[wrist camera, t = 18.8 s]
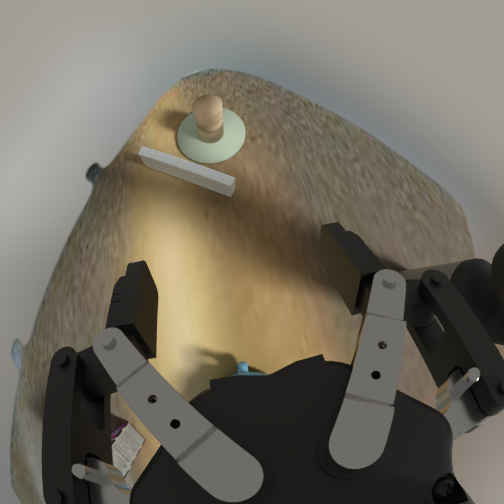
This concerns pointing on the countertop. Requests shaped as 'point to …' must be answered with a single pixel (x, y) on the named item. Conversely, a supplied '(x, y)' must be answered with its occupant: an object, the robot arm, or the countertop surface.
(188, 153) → the sage mat
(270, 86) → the countertop surface
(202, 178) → the frosted wall
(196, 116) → the beech cylinder
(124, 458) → the candy bar box
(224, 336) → the countertop surface
